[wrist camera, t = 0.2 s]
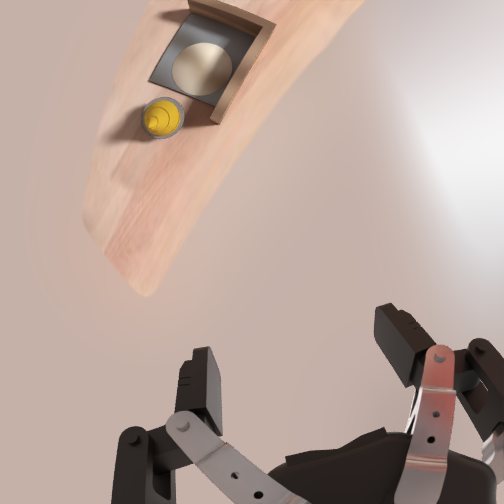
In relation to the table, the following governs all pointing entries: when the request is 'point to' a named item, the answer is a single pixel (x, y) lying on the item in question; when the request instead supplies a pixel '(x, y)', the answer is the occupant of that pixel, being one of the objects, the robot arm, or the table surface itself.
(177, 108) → the drill bit
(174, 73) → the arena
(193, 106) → the table surface
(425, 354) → the robot arm
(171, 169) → the table surface
